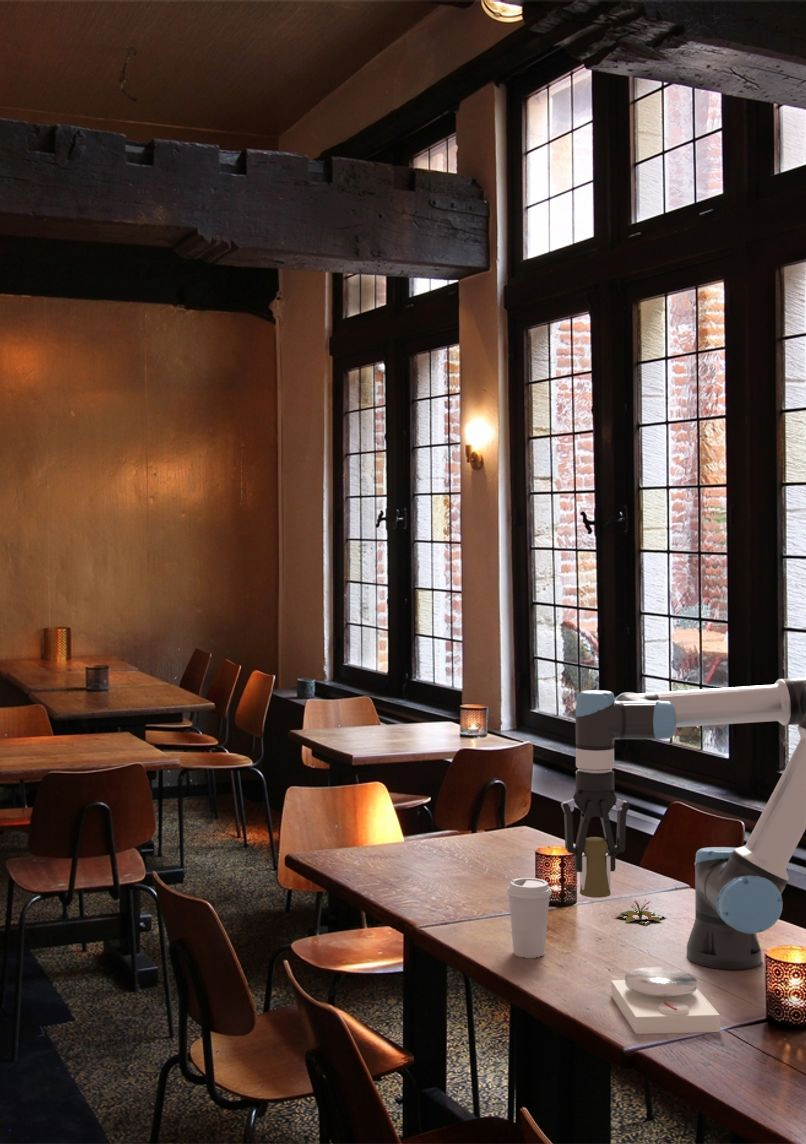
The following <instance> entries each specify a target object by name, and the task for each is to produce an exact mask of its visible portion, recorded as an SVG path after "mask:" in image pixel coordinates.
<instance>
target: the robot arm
mask: <svg viewBox="0 0 806 1144" xmlns="http://www.w3.org/2000/svg"><path fill="white" fill-rule="evenodd" d="M574 716H575V767H576V768H577V770H576V771H575V792H574V794H573V797H572V798H571V799H569V800H566V801H565V800H562V801H561V802H560V806H561V809H562V811H563V818H564V845H565V847H564V848H565V850H566V851H567V852H568V853H569V854H572V855H574V870H575V871H576V872H577V873H579V888H580V887H581V884H582V890H584V887H585V880H586V856H585V854H584V853H583V850H584V845H585V840H586V838H587V836H588V830H589V829H588V828H589V824H590V822H591V819H593V818H595V817H597V818H599V819H600V822H601V827H602V831H603V836H604V839H605V840H606V841H607V843H608V852H607V854H606V868H607V877H608V884H609V889H610V890H611V872H615V871H616V856H617V855H618V854H619V853H624V852H625V851H626V835H627V833H626V832H627V831H626V830H627V829H626V828H627V827H626V826H627V813H628V811H629V808H630V803H629V802H628V801H627V800H624V799H623V800H622V799H619V798H617V797H618V796H617V795H616V793H615V772H614V771H613V769H614V768H615V740H656V741H659V740H666V739H672V738H673V737H674V736H675V735H676V731H677V728H685V727H701V726H702V727H703V726H717V725H718V726H719V725H734V724H748V723H749V724H750V723H765V722H778V723H780V725H782V726H793V725H794V726H797V730H798V734H799V735H800V736H799V737H800V740H799V741H798V743H797V745H796V747H795V749H794V751H793V753H792V755H791V756H790V759H789V761H788V763H787V764H786V766H785V769H784V770H783V772H782V774H781V776H780V778H779V780H778V782H777V783H776V785H775V788H774V789H773V792H771V795H770V797H769V799H768V801H767V803H766V805H765V806H764V809H763V811H762V812H761V814H760V817H759V818H758V820H757V822H756V824H755V826H754V828H753V829H752V832H751V833H750V835H749V836H748V840H747V841H746V844H744V845H743V846H739V847H731V846H730V847H729V846H728V847H727V846H720V847H719V846H717V847H716V846H714V847H713V846H711V847H702V848H700V849H698V850H697V851H696V853H695V862H694V866H695V867H694V868H695V869H694V870H695V872H694V874H695V879H694V881H695V882H694V883H695V885H694V887H695V892H694V893H695V894H694V895H695V897H694V899H695V900H694V901H695V903H694V904H695V914H694V915H695V918H694V923H693V926H692V929H691V932H690V934H689V937H688V940H687V945H686V957H687V959H688V960H689V961H691V962H693V963H694V964H696V965H699V966H703V967H707V968H711V969H717V970H731V971H732V970H733V971H734V970H735V971H736V970H739V971H740V970H747V969H748V970H749V969H752V968H756V967H758V966H759V965H761V964H762V960H763V959H762V957H763V955H762V947H761V946H760V942H759V938H758V935H757V934H759V933H762V932H765V931H767V930H770V929H771V928H772V927H773V926H774V925H775V924H776V923H777V922H778V921H779V919H780V917H781V914H782V911H783V907H784V906H783V897H782V893H783V891H784V890H785V888H786V885H787V884H788V882H789V879H790V878H789V875H788V872H787V866H788V863H789V861H790V860H791V858H792V856H793V854H794V852H795V850H796V849H797V846H798V844H799V842H800V841H801V838H802V837H803V834H804V833H805V831H806V675H805V676H800V677H799V676H798V677H789V678H778V679H777V680H776V681H775V683H774V684H762V685H749V686H748V685H746V686H745V685H744V686H735V687H734V686H732V687H719V688H718V687H716V688H715V687H713V688H704V689H703V688H701V689H700V688H699V689H686V690H674V691H671V690H670V691H658V692H645V693H644V692H643V693H637V692H633V691H629V692H622V693H620V694H619V695H617V696H615V695H614V692H612V691H609V690H597V689H592V690H591V689H590V690H582V691H580V692H579V693H578V694H577V695H576V702H575V713H574ZM575 805H576V806H577V808H578V809H579V810H580V821H579V825H578V830H577V831H578V832H577V835H576V841H575V845H574V824H573V823H574V822H573V812H574V810H575ZM614 806H615V808H616V810H617V814H616V815H617V816H616V817H617V818H616V843H615V841H614V836H613V831H612V826H611V820H610V815H609V813H610V812H611V810H612V809H613V807H614Z"/></svg>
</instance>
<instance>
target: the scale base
mask: <svg viewBox="0 0 806 1144" xmlns="http://www.w3.org/2000/svg"><path fill="white" fill-rule="evenodd" d="M610 983H611V985H610V989H611V991H610V993H611V994H610V996H611V998H612V999H613V1001H614V1003H615V1004H616V1006H617V1007H618V1009H619V1011H621V1013H622V1015H623V1017H624V1018H625V1019H626V1021H627V1022H628V1024H629V1025H630V1027H631V1028H632V1030H633V1032H634V1033H635V1034H636V1035H650V1034H651V1035H652V1034H686V1033H687V1034H689V1033H693V1034H694V1033H695V1034H696V1033H721V1014H720V1013H719V1012H718V1011H717V1009H715V1008H714V1006H713V1005H712V1004H711V1003H710V1002H709V1001H708V999H707V998H706V997H705V996H704V994H702V993H701V991H700V990H699V989H698V988H697V989H696V991H695V992H693V993H692V994H689V995H686V996H681V997H654V996H648V995H643V994H640V993H637V992H634V991H632V990H630V989H629V988H627V987H626V985H625V979H612V980H611V981H610Z"/></svg>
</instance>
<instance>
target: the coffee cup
mask: <svg viewBox="0 0 806 1144" xmlns="http://www.w3.org/2000/svg"><path fill="white" fill-rule="evenodd" d="M505 893H506V895H508V901H509V915H510V925H511V935H512V936H511V937H512V938H511V939H512V949H513V955H514V956H516V957H519V958H523V957H525V958H524V959H537V958H536V957H538V958H541V957H540V956H542V957H543V956H544V955H545V951H546V950H545V949H546V940H547V929H548V928H547V927H548V918H549V917H548V915H549V905H550V896H551V895H552V893H553V892H552V889H551V887H550V886H549V883H548V881H547V880H545V879H542V878H541V879H540V878H535V877H520V878H514V879H512V880H511V881H510V882H509V885H508V886H507V888H506V892H505Z"/></svg>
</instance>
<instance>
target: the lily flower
mask: <svg viewBox="0 0 806 1144" xmlns="http://www.w3.org/2000/svg"><path fill="white" fill-rule="evenodd" d="M646 901H647V899H645V900H644V902H643V903H639V902H638V901H637V900H636V899H634V901H633V902H634V903H635V904H636V906H637V907H636V906H635V904H632V905H631V906H630V907H631V909H634V910H627V911H623V912H622V914H619V915H617V916H616V917H624V916H627V915H628V916H627V917H626V919H625V918H623V919H625V922H627V923H630V922H633V921H635V920H638V921H640V920H641V922H638V921H636V922H638V923H640V924H642V925H644V926H647V925H648V924H650V923H651V922H652V921H655V922H658V921H661V922H662V920H660V919H661V918H659V917H651V916H653V915H656V913H655V912H651V911H648V909H649V908H650V907H649V906H647V905H649V904H650V903H651V901H648V902H647V903H646ZM646 906H647V907H646ZM645 907H646V908H645ZM644 908H645V909H644ZM636 910H637V911H636ZM634 911H636V912H634ZM638 911H639V913H637V912H638ZM651 913H653V914H651ZM633 915H638V916H639V917H638V918H636V919H635V918H633V917H632V916H633ZM642 915H645V916H647V917H648V919H647V920H650V922H647V923H646V924H643V923H642V922H643V920H644V919H645V918H643V917H642ZM658 916H661V915H658ZM642 918H643V919H642Z"/></svg>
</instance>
